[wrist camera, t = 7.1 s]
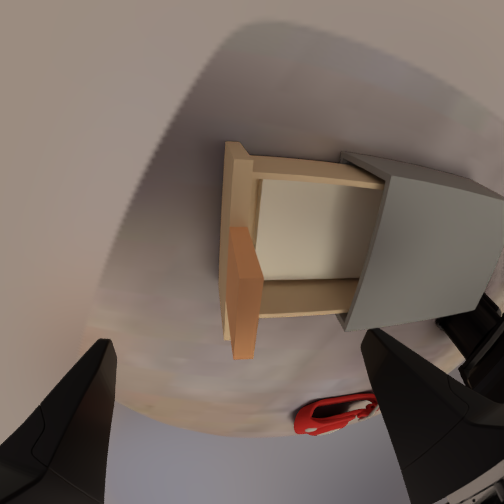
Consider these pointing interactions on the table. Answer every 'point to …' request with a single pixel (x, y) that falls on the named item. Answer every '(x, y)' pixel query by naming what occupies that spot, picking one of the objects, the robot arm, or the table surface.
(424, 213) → the sleeve
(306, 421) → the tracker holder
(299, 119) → the table surface
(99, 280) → the table surface
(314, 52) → the table surface
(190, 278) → the table surface
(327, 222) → the beige open box
